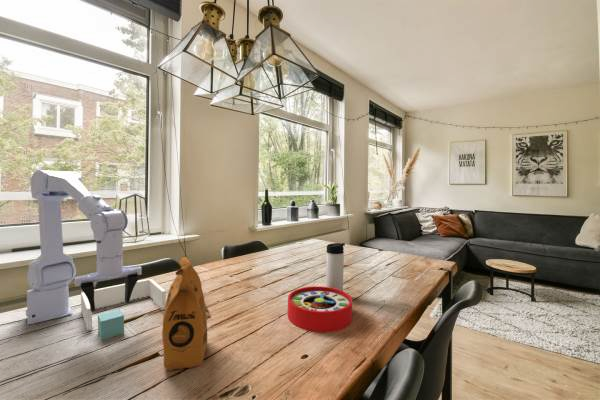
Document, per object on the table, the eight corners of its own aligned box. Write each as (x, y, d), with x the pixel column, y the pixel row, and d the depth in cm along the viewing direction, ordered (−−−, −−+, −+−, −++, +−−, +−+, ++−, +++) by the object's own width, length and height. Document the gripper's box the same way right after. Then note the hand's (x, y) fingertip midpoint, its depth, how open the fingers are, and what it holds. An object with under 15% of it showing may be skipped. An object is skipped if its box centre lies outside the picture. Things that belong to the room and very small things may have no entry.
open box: (87, 330, 74) (87, 309, 74) (81, 311, 86) (81, 292, 85) (165, 309, 88) (165, 290, 87) (151, 294, 99) (151, 278, 99)
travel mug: (343, 301, 95) (344, 245, 94) (324, 299, 97) (325, 244, 96) (344, 295, 101) (345, 241, 101) (326, 293, 103) (327, 241, 102)
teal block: (101, 340, 70) (100, 321, 69) (98, 333, 73) (97, 314, 73) (124, 333, 73) (123, 315, 73) (120, 326, 77) (119, 309, 76)
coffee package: (155, 376, 57) (154, 272, 56) (167, 343, 69) (166, 257, 68) (205, 368, 59) (205, 268, 58) (208, 337, 71) (208, 255, 70)
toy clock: (277, 306, 78) (299, 283, 97) (277, 326, 78) (298, 299, 97) (347, 317, 72) (355, 290, 91) (347, 338, 72) (355, 307, 91)
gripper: (76, 263, 64) (77, 319, 65) (144, 254, 74) (144, 303, 75) (73, 258, 69) (74, 310, 70) (137, 249, 79) (138, 295, 80)
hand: (110, 305), depth 73 cm, fingers open, 7 cm apart
